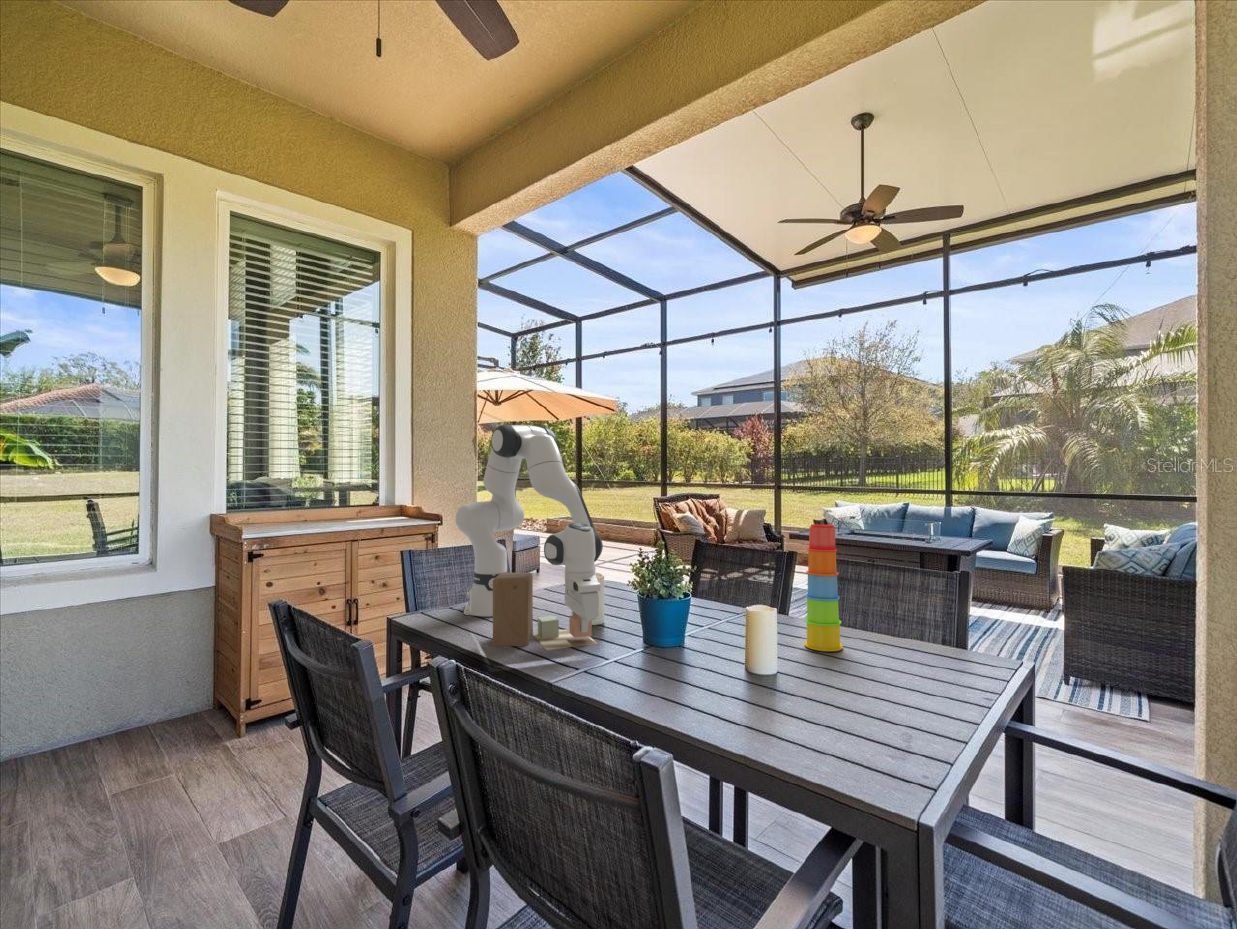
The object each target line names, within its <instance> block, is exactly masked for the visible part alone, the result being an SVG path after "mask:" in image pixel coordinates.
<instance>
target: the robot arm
mask: <svg viewBox="0 0 1237 929" xmlns="http://www.w3.org/2000/svg"><path fill="white" fill-rule="evenodd" d="M490 445H491V450H490V453H489V456H488V459H487V465H486V468H485V472H484V476H483V481H482V482H483V483H482V484H483V486H484V488H485V490H487V492H488V493H490V494H491V495H492V496H491V499H490V500H488V501H472V502H469V503H466V504H462V505H461V506H460V507H459V508H458V509H457V511H456V513H455V524H456V526H457V529H458V530H459V531H460V532H462V534H464V535H466V536H467V538H468V540H469V541H470V543H471V545H472V548H473V553H474V554H473V555H474V572H473V577H472V578H473V581H472V582H473V585H472V587H471V588H470V590H469V591H468V592H466V600H467V602H466V603H465V606H464V610H463V615H464V614H465V616H474V617H493V580H494V578H496V577H497V576H498V575H499V574H500V573H509V571H508V550H507V549H506V546H504V545H503V544H501V543H500V542H497V541H496V537H495V533H498V532H509V531H511V530H515V529H517V528H520V526H522V524H523V522H524V520H525V511H524V508H523V506H522V505H521V504H520V502H518V499H517V496H516V487H517V482H518V477H519V473H520V469H521V464H522V460H524V459H525V461H526V468H527V472H528V478H529V481H530V484H531V487H532V488H533V490H534V491H535V492H536V493H537V494H539V495H541V496H543V497H546V498H548V499H551V500H554V501H557V502H559V503H561V505H563V506H564V507H566V508H567V510H568V512H569V515H570V516H571V517H570V518H571V520H572V523H569V524H567V525H566V526H565V529H563V530H561V531H558V532H556V533H553V534H550V535H548V537H547V538H546V540H545V542H544V545H543V554H544V558H545V559H546V561H547V562H548V564H551V565H552V566H557V567H558V566H565V567H564V605H565V607H567V608H568V609H570V610H571V616H572V615H579V616H580V617H581V620H582V621H581V625H580V631H581V632H587V631H588V624H589V621H591V620H592V621H596V620H597V619H598V618H599V610H600V609H599V608H600V594H599V592H600V591H601V583H600V581H599V580H598V578H597V572H596V565H595V562H597V560H598V559H599V558H600V557H601V554H602V552H603V547H604V546H603V541H602V538H601V536H600V533H599V532H598V531H597V529H596V527H595V526H594V523H593V521H592V518H591V515H590V513H589V510H588V507H587V505H586V502H585V500H584V498H583V496H582V493H581V490H580V488H579V487H578V486H577V483H575V482H573V481H572V480H571V478H570V477H569V475H568V474H567V472H566V470H565V467H564V462H563V458H562V455H561V453H560V450H559V447H558V445H557V438H556V435H555V433H554V431H553V430H551V428H548V427H545V426H536V425H531V424H530V425H529V424H511V425H510V424H501V425H498V426H496V427H495V429H494V430H493V431H492V434H491V438H490Z"/></svg>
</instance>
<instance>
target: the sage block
mask: <svg viewBox="0 0 1237 929" xmlns="http://www.w3.org/2000/svg"><path fill="white" fill-rule="evenodd" d="M559 621H560V620H559V619H558V618H557V617H556V616H555V615H549V616H539V617H537V633H538V635H539V636H540V637H541V638H542V639H545V638H553V637H559V630H560V629H559V627H560V622H559Z"/></svg>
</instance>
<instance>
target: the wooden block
mask: <svg viewBox="0 0 1237 929" xmlns="http://www.w3.org/2000/svg"><path fill="white" fill-rule="evenodd" d="M533 579H534V578H533V574H532V573H531V572H508V573H500V574H499V575H498V576H497V577H496V578H494V580H493V616H492V646H495V647H527V646H529V644H530V643H531V641H532V638H533V637H534V636H533V632H534V630H533V629H534V628H533V627H534V626H533V625H534V623H533V622H534V621H533V620H534V619H533V618H534V616H533V614H534V613H533V608H534V606H533V605H534V603H533V602H534V601H533V600H534V598H533V597H534V596H533V593H534V591H533V590H534V589H533V585H534V584H533V582H534V580H533Z"/></svg>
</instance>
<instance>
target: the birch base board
mask: <svg viewBox="0 0 1237 929" xmlns="http://www.w3.org/2000/svg"><path fill="white" fill-rule="evenodd" d="M533 637H534V638H535V639H536V640H537V641H538V642H539V643H540V645H541V646H542V647H543V648H544V649H545V650H546V651H551V650H559V649H560V650H561V649H568V648H574V647H582V646H591V645H592V646H593V645H598V644H599V642H597V641H596V640H595V639H593V637H592V636H586V637H577V638H575V637H573V636H572V635H571V634H570V628H569V629H559V637H553V638H545V639H542V638H541V637H540V636H539V635H538V632H534V633H533Z"/></svg>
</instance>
